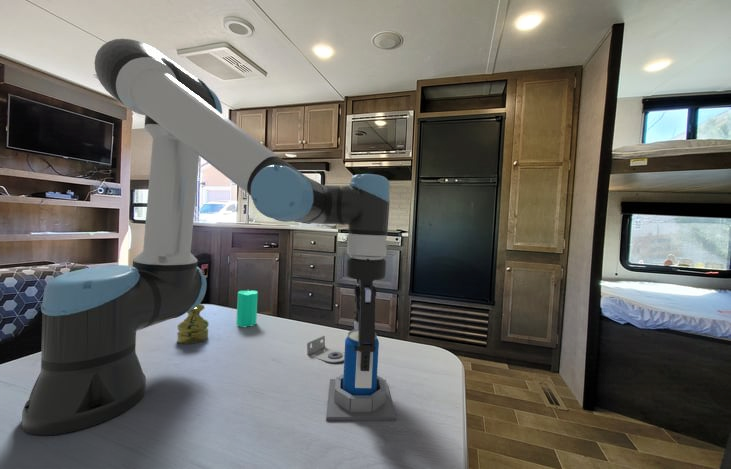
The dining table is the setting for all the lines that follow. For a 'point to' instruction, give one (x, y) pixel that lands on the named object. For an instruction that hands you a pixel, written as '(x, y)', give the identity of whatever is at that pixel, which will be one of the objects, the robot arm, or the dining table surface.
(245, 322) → the candle
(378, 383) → the cup holder
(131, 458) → the dining table surface
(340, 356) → the bracket
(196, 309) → the yellow knotted piece
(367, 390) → the beverage can
